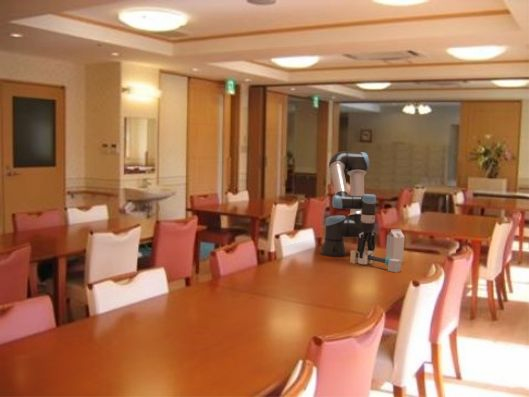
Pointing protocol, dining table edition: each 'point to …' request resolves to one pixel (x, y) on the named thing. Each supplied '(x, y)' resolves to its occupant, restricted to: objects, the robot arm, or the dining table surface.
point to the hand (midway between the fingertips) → (365, 263)
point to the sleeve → (367, 252)
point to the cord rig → (393, 264)
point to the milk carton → (395, 244)
